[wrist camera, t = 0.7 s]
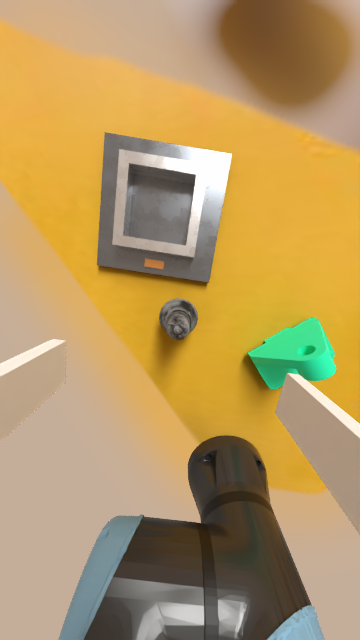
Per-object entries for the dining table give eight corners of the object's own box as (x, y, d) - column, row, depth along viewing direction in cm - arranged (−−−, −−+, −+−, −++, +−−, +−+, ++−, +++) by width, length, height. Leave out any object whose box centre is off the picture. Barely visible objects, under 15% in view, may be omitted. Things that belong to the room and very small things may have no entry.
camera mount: (264, 383, 34) (299, 425, 24) (245, 350, 33) (273, 380, 23) (324, 351, 33) (387, 381, 23) (306, 315, 32) (365, 331, 22)
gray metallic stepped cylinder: (162, 330, 32) (151, 358, 21) (161, 297, 31) (148, 305, 19) (196, 330, 32) (204, 357, 20) (195, 296, 31) (204, 304, 19)
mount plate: (208, 282, 31) (211, 282, 27) (99, 265, 30) (89, 263, 27) (229, 158, 27) (236, 140, 24) (107, 137, 27) (96, 116, 23)
